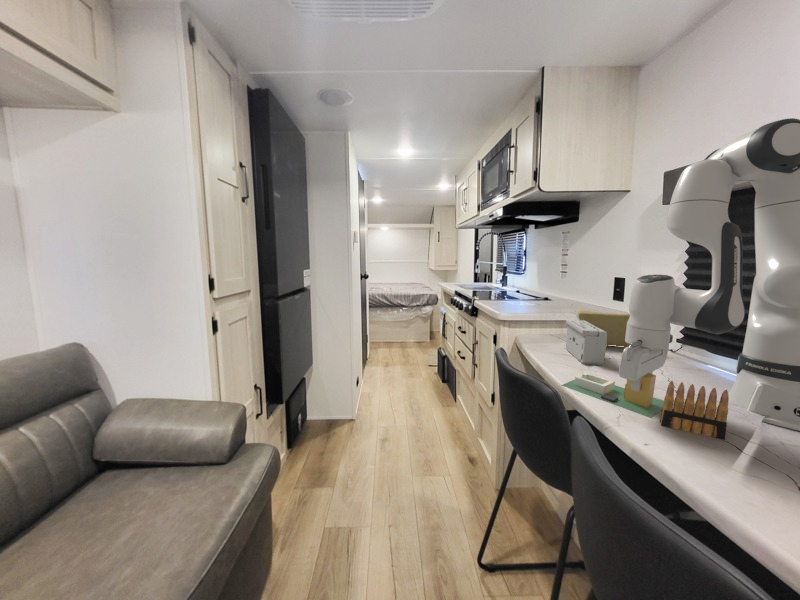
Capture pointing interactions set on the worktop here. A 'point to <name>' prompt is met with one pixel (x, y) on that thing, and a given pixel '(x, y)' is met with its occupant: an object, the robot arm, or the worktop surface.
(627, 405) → the board
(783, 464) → the worktop surface
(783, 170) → the robot arm
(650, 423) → the worktop surface
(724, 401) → the ammunition clip
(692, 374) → the worktop surface
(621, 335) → the olive rectangular block
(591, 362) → the stereo radio cassette player
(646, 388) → the yellow rectangular block
